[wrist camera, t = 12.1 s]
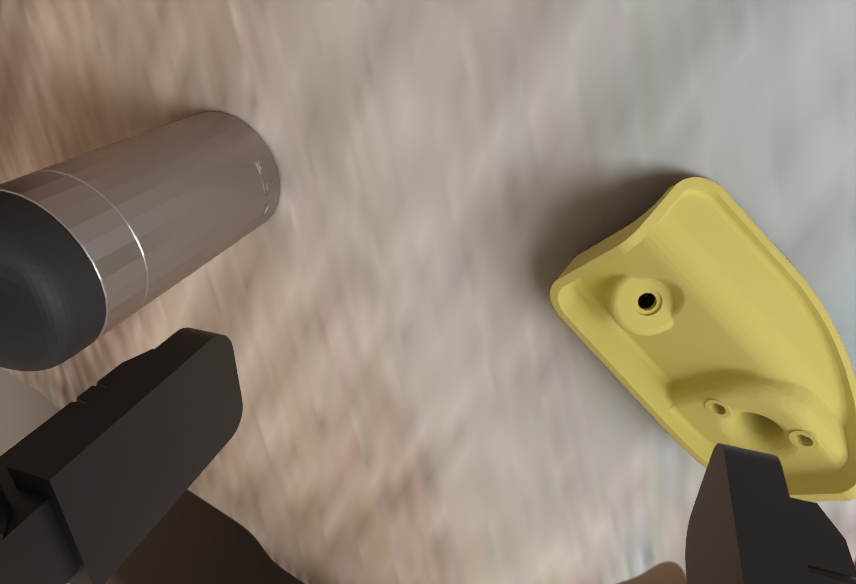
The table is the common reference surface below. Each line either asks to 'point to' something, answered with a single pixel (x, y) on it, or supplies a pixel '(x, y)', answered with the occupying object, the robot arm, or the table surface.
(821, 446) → the plastic component
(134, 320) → the table surface
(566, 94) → the table surface
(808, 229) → the table surface
